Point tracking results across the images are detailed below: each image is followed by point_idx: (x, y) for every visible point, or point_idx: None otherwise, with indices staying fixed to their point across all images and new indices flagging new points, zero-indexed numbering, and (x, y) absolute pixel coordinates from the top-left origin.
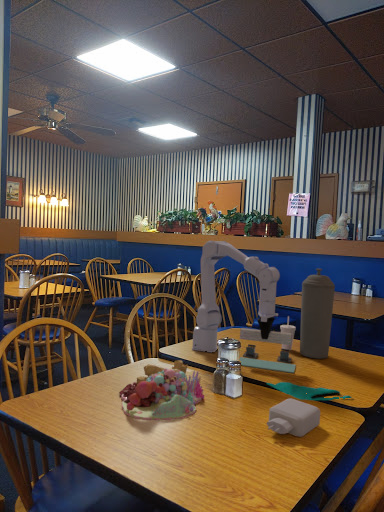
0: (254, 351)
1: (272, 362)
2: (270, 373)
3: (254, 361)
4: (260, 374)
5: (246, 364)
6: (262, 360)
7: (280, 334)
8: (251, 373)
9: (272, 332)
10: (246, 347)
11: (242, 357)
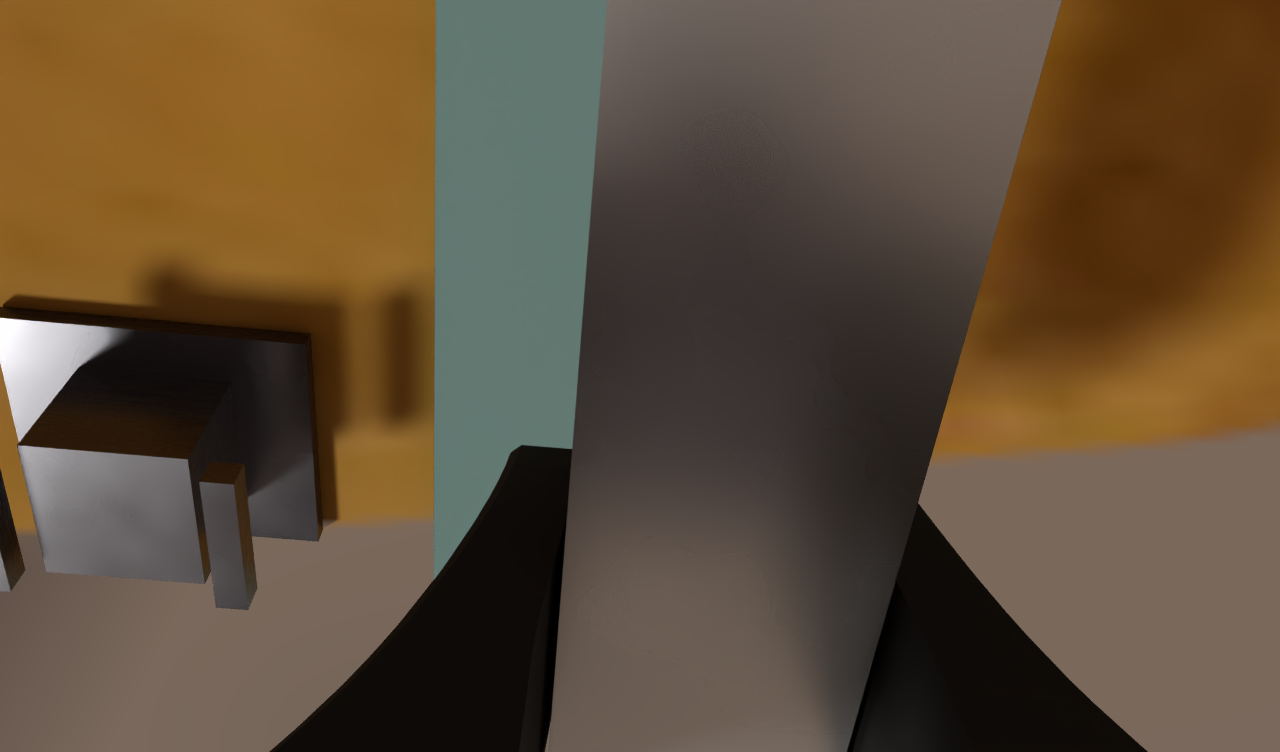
0: (140, 415)
1: (505, 11)
2: (1189, 31)
3: None
4: (1268, 210)
5: None
6: (460, 217)
7: (1001, 152)
8: (1227, 350)
9: (805, 493)
10: (248, 601)
11: (441, 537)
